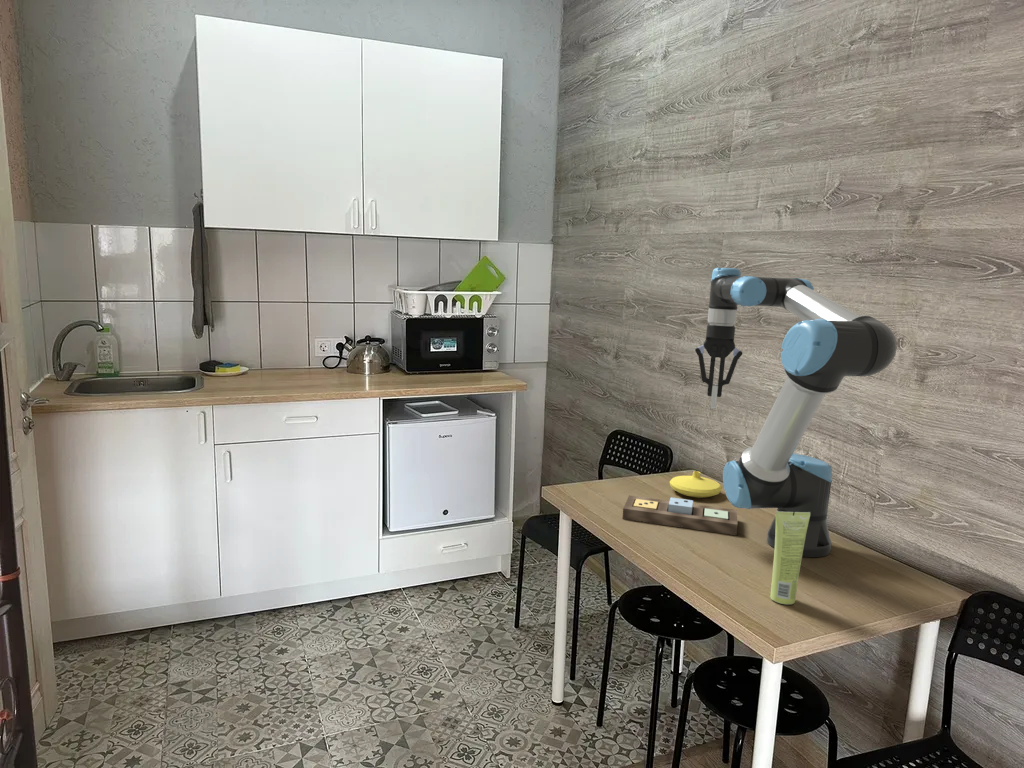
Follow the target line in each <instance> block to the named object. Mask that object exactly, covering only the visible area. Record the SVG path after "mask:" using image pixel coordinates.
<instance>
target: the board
mask: <svg viewBox="0 0 1024 768" xmlns="http://www.w3.org/2000/svg"><path fill="white" fill-rule="evenodd" d="M636 499H641V500H648V501H656V502H658V509H657V510H653V509H646V508H638V507H633V505H634V503H635V500H636ZM669 501H670V500H667V499H666V500H665V499H658V498H651V497H642V496H635V495H628V497H627V498H626V502H625V503H624V506H623V509H622V519H623V520H627V519H628V520H629V521H634V520H636V521H635V522H641V521H643V522H644V523H648V522H649V523H648V524H656V525H662V526H670V527H677V528H683V529H690V530H698V531H704V532H712V533H718V534H724V535H732V536H737V534H738V525H739V524H738V511H737V509H734V508H733V509H731V508H724V507H717V506H709V505H702V504H696V503H693V507H692V515H688V514H681V513H674V512H668V507H669ZM705 508H707V509H714V510H721V511H728V520H724V519H717V518H710V517H704V511H705Z"/></svg>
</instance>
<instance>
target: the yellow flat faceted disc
mask: <svg viewBox="0 0 1024 768" xmlns="http://www.w3.org/2000/svg"><path fill="white" fill-rule="evenodd" d="M669 485H670V487H671V489H673V490H674V491H675V492H677V493H679V494H681V495H684V496H686V497H691V498H702V499H705V498H709V497H710V498H711V497H714V496H718V495H719V494H720V493H721V491H722V485H721V484H720V483H719V482H717V481H716V480H715V479H711V478H709V477H704V476H701V472H700V471H698V470H697V471H696V470H693V471H692V475H677V476H673V477H672V478H671V479H670V480H669Z"/></svg>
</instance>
